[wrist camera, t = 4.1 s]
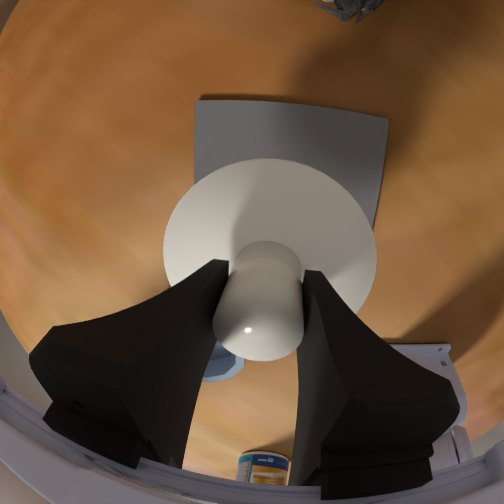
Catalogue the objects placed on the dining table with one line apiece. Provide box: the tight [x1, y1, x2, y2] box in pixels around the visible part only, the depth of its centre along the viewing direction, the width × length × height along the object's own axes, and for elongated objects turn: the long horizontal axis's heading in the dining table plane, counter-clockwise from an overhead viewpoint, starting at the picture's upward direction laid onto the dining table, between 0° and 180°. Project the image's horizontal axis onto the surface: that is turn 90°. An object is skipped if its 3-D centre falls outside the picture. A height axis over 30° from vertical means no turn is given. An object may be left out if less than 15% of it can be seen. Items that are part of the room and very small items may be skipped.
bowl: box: [202, 340, 246, 382], centre depth 22 cm, size 8×8×3 cm
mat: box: [194, 100, 389, 229], centre depth 18 cm, size 12×12×1 cm
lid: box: [163, 157, 377, 361], centre depth 10 cm, size 9×9×4 cm
